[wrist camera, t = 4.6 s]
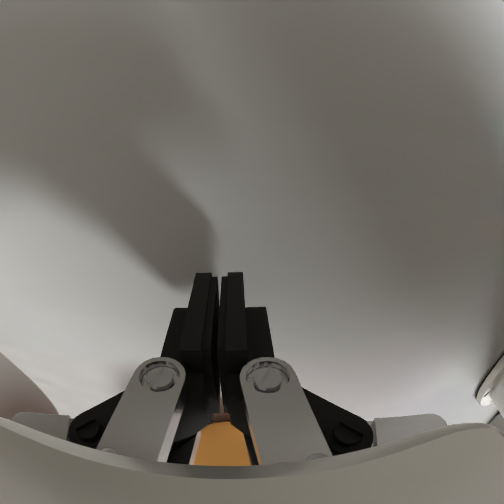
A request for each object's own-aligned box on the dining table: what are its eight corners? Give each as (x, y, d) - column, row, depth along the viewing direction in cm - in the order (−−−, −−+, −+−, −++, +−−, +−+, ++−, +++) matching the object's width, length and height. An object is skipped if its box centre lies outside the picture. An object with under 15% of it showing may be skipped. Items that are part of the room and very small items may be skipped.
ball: (292, 468, 15) (290, 415, 14) (253, 529, 10) (239, 488, 9) (222, 448, 18) (208, 395, 17) (177, 495, 13) (148, 445, 12)
